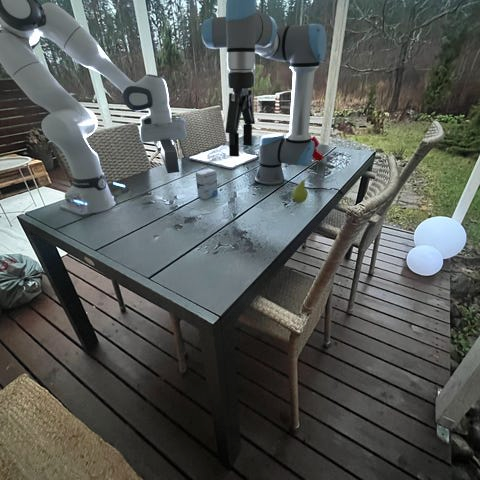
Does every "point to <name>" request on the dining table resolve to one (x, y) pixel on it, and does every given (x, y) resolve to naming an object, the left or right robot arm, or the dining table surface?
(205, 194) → the ink box
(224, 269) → the dining table surface
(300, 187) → the fruit
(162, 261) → the dining table surface
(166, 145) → the bar
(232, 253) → the dining table surface
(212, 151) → the relief map
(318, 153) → the toy gun
